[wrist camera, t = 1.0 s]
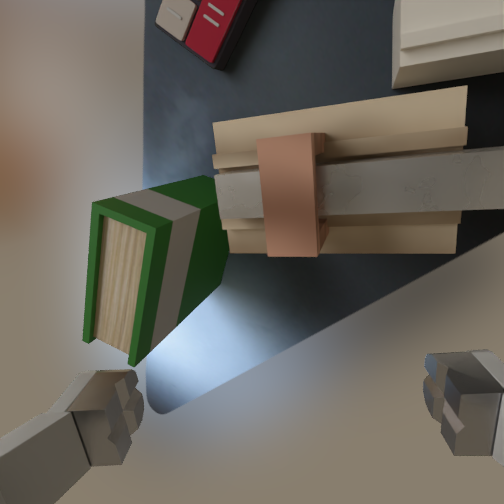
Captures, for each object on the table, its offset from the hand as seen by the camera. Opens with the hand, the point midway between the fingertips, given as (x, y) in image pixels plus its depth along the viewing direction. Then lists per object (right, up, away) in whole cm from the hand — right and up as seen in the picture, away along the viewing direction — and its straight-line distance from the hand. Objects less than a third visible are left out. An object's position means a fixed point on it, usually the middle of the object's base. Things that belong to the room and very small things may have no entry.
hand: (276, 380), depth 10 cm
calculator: (-5, +38, +37) cm, 53 cm away
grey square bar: (+9, +8, +12) cm, 17 cm away
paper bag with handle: (+13, +16, +37) cm, 42 cm away
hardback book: (-7, +7, +48) cm, 49 cm away
